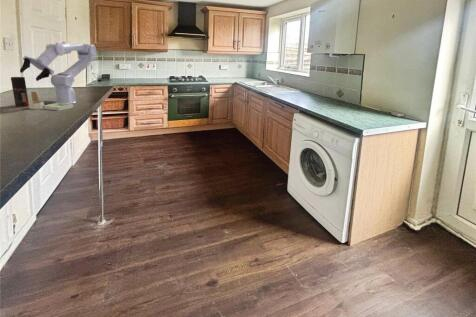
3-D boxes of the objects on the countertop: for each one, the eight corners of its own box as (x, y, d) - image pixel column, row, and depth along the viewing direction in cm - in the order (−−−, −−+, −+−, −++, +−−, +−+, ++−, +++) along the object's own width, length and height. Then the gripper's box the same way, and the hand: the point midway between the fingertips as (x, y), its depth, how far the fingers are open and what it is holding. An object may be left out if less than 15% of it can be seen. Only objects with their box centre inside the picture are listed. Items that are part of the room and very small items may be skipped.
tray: (60, 106, 175) (59, 102, 174) (74, 108, 173) (73, 104, 172) (43, 109, 165) (42, 105, 164) (58, 111, 163) (57, 107, 162)
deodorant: (22, 108, 167) (17, 78, 162) (12, 107, 168) (7, 77, 163) (31, 106, 172) (27, 77, 168) (22, 105, 173) (17, 76, 169)
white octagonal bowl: (37, 107, 170) (36, 101, 169) (47, 108, 169) (46, 102, 168) (26, 109, 164) (25, 103, 163) (36, 110, 163) (36, 104, 162)
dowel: (37, 107, 168) (34, 91, 166) (41, 107, 167) (39, 91, 165) (32, 107, 165) (29, 92, 163) (36, 108, 165) (34, 92, 162)
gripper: (30, 46, 164) (13, 62, 156) (59, 61, 168) (43, 78, 159) (30, 55, 169) (14, 71, 161) (58, 70, 173) (43, 86, 165)
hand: (28, 75), depth 160 cm, fingers open, 7 cm apart
